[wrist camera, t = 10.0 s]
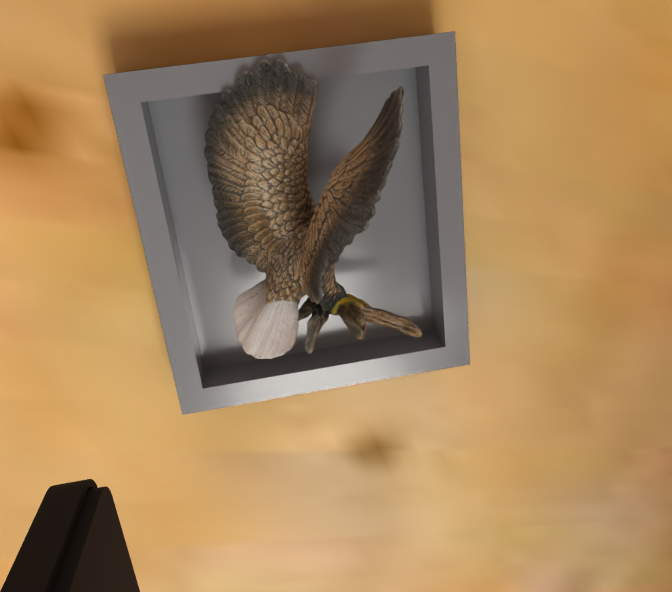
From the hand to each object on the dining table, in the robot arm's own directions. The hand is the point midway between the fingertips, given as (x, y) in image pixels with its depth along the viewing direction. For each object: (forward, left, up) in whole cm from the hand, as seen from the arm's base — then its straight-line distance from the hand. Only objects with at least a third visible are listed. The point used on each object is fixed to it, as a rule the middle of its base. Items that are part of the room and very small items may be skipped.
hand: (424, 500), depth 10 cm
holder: (0, 0, -18) cm, 18 cm away
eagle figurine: (0, -2, -16) cm, 16 cm away
